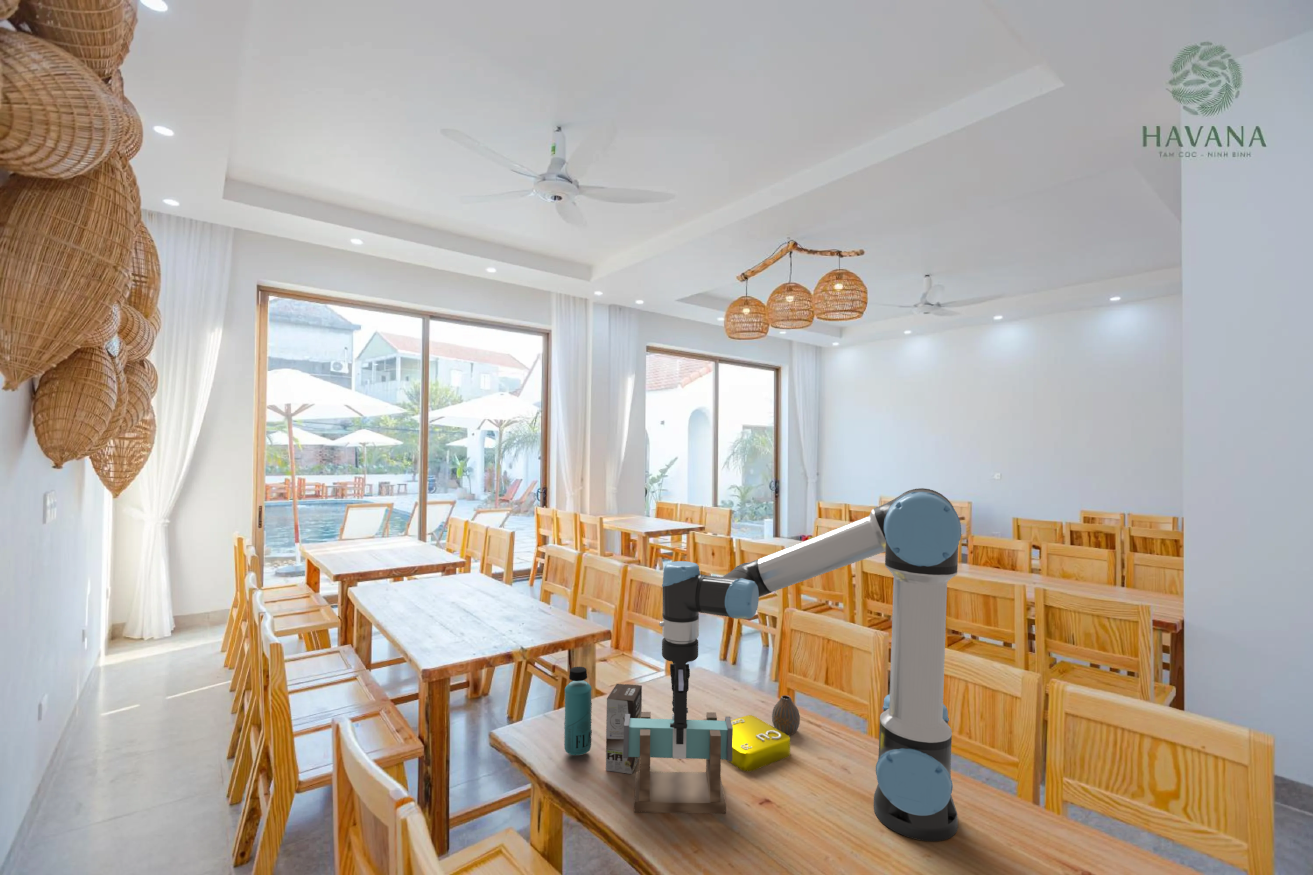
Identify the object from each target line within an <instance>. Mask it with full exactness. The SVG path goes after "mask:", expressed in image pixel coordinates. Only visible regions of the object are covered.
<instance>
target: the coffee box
mask: <svg viewBox="0 0 1313 875" xmlns="http://www.w3.org/2000/svg"><path fill="white" fill-rule="evenodd" d="M642 688H643V685H639V684H627V683H626V684H624V683H622V684H621V683H616V684H615V686H614V687H613V688H612V690H611V692H610V693H609V695H608V696H607V698H606V726H605V727H606V730H605V734H606V735H605V741H606V743H605V771H607V772H614V773H622V774H629V775H632V774H633V773H634V770H635V768H636V766H637V764H638V762H639V761H640V757H628V758H623V746H624V722H625V714H630V718H641V712H643V711H642V705H643V703H642V702H643V700H642V698H643V690H642Z"/></svg>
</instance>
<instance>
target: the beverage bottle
mask: <svg viewBox="0 0 1313 875" xmlns="http://www.w3.org/2000/svg"><path fill="white" fill-rule="evenodd" d="M587 678H588V673H587V668H586V667H584V666H574V667H571V668H570V669H569V677H568V679H569V680H571V681H570V682H569V683H568V684H567V685H566V686H565V688H564V723H563V724H564V727H563V728H564V733H563V735H564V737H563V739H564V740H563V745H564V747H563V748H564V752H566V754H568V755H571V756H582V755H585V754H587V753H588V752H589V751H590V750H591V748H592V742H593V741H592V739H593V738H592V736H593V734H592V732H593V730H592V724H593V722H592V708H593V702H592V685H591V684H590V683H589V682H587V681H585V680H587Z"/></svg>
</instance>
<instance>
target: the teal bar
mask: <svg viewBox="0 0 1313 875" xmlns="http://www.w3.org/2000/svg"><path fill="white" fill-rule="evenodd" d="M731 720H732V719H731V716H724V720H718V719H717V720H706V719H687V729H686V759H693V760H695V759H696V760H697V759H699V760H706V759H709V758H710V730H720V734H721V760H724V761H725V760H726V761H727V762H729V761H732V744H733V727H732V723H731ZM670 723H674V719H671V718H651V719H645V718H630V714H625V722H624V746H623V758H628V757H639V758H640V729H642V730H650V758H652V759H653V758H656V759H657V758H659V759H660V758H661V759H673V727H670Z"/></svg>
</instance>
